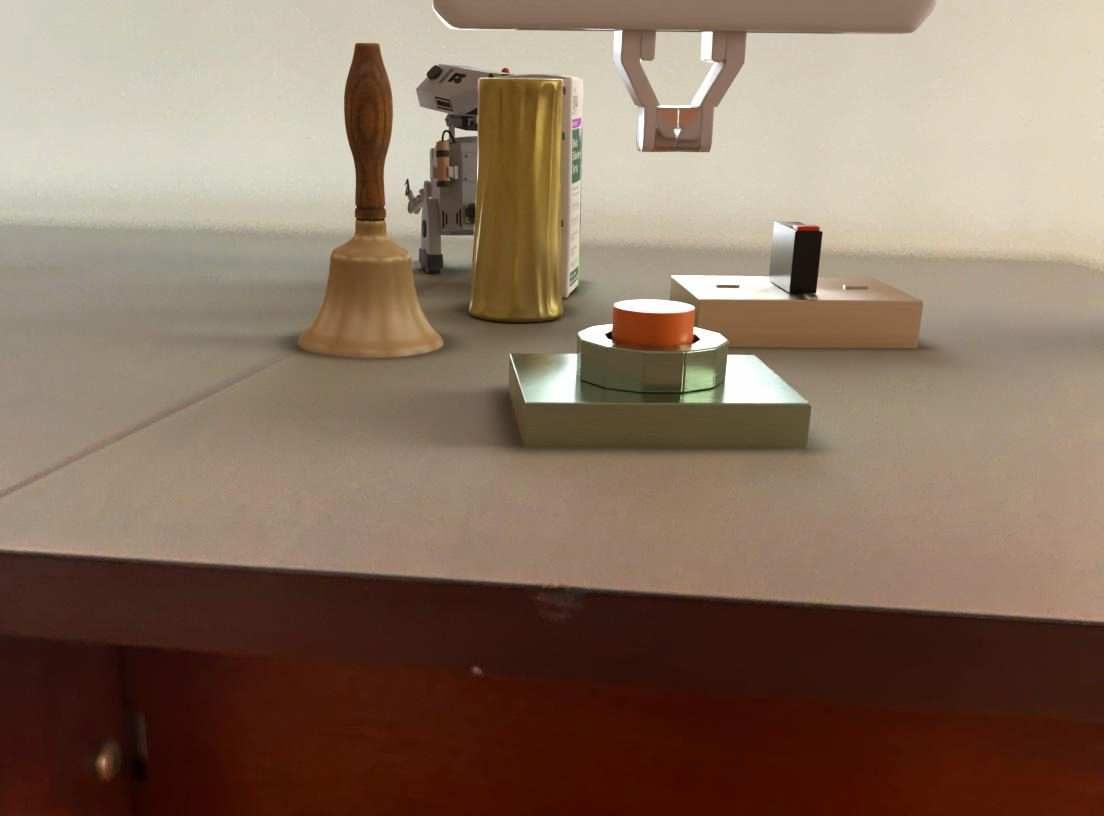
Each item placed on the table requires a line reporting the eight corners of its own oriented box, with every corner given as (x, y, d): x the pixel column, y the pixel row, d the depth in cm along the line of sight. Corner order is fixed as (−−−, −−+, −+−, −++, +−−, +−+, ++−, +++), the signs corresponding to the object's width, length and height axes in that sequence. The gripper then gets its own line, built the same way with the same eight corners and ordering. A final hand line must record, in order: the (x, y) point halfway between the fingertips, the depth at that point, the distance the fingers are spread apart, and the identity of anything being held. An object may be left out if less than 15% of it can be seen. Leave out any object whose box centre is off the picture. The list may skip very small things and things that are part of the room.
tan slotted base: (867, 324, 85) (873, 274, 84) (917, 353, 76) (925, 298, 75) (667, 322, 84) (670, 272, 83) (695, 352, 76) (700, 296, 74)
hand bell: (474, 349, 75) (477, 45, 69) (361, 370, 70) (354, 41, 64) (380, 328, 80) (375, 44, 74) (268, 346, 75) (253, 40, 69)
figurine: (510, 256, 112) (514, 65, 106) (544, 276, 102) (551, 66, 96) (404, 257, 110) (402, 63, 105) (428, 277, 100) (427, 63, 94)
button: (684, 338, 61) (687, 299, 60) (699, 354, 57) (702, 313, 57) (606, 337, 60) (608, 298, 60) (617, 353, 57) (619, 312, 56)
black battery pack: (768, 280, 81) (774, 217, 80) (794, 280, 82) (800, 217, 80) (789, 293, 77) (795, 226, 75) (816, 293, 77) (823, 227, 75)
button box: (751, 399, 65) (758, 317, 64) (806, 454, 56) (816, 360, 54) (508, 398, 64) (510, 315, 63) (523, 454, 55) (526, 359, 54)
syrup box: (569, 298, 92) (577, 74, 87) (486, 294, 93) (489, 73, 88) (579, 286, 97) (587, 74, 92) (500, 282, 98) (504, 72, 93)
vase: (494, 303, 90) (498, 77, 84) (578, 312, 87) (587, 79, 82) (452, 317, 84) (453, 77, 79) (539, 326, 82) (546, 79, 77)
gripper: (929, -209, 54) (889, 148, 59) (428, -221, 53) (432, 145, 58) (992, -242, 48) (942, 157, 53) (431, -257, 47) (435, 155, 52)
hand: (673, 151), depth 56 cm, fingers closed
